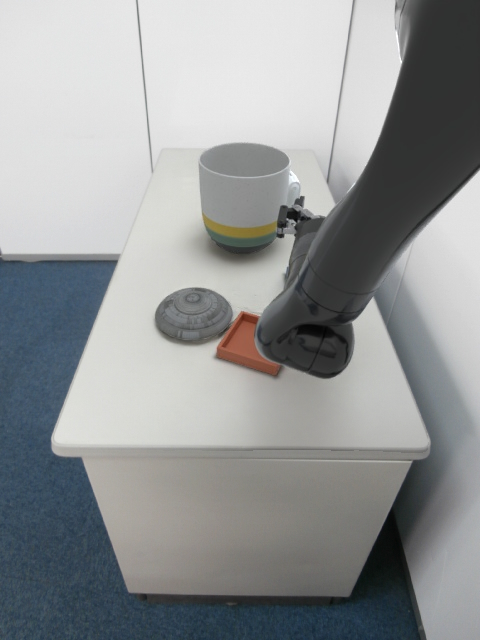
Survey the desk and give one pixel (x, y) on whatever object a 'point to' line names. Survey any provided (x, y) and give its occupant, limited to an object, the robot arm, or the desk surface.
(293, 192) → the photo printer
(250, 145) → the planter
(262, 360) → the terracotta tray
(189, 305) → the flying saucer
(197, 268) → the desk surface
